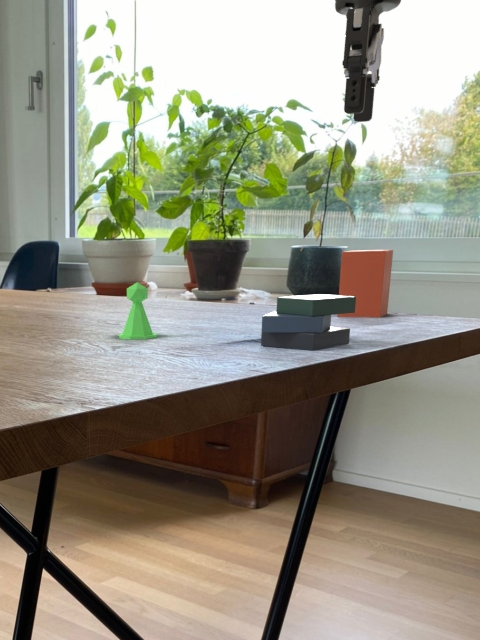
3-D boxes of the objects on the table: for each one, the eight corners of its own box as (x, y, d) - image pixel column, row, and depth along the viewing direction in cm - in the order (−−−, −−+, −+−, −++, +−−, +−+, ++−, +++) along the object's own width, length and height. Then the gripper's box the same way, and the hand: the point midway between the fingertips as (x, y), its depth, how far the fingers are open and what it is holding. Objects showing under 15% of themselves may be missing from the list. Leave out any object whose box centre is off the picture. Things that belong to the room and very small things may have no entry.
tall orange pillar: (346, 316, 105) (351, 250, 103) (387, 317, 103) (393, 249, 100) (336, 320, 101) (342, 251, 98) (379, 321, 99) (385, 250, 96)
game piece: (165, 342, 86) (165, 281, 84) (126, 345, 85) (126, 283, 82) (148, 338, 90) (148, 280, 88) (111, 341, 88) (110, 282, 86)
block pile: (291, 338, 86) (293, 293, 84) (360, 343, 80) (364, 295, 79) (241, 346, 81) (243, 298, 79) (311, 353, 75) (314, 301, 74)
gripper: (399, -62, 89) (384, 107, 94) (409, -27, 101) (395, 121, 106) (327, -50, 92) (317, 113, 97) (345, -18, 104) (335, 126, 109)
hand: (358, 117), depth 102 cm, fingers open, 8 cm apart
